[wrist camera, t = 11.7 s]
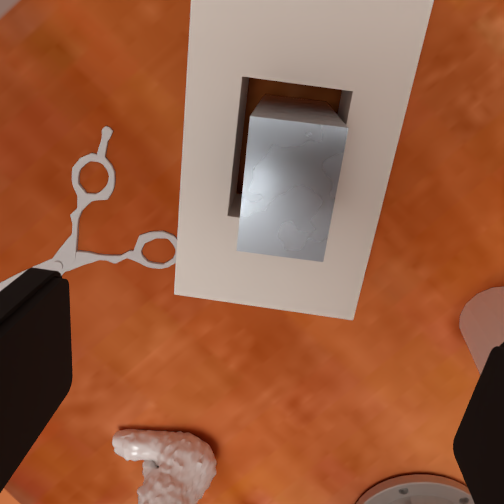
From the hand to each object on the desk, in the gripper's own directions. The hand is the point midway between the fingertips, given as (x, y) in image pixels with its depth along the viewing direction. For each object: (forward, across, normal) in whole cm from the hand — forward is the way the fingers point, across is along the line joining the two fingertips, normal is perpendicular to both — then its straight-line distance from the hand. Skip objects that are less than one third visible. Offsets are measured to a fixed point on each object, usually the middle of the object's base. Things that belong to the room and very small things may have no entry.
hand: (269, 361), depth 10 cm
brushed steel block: (+23, 0, -1) cm, 23 cm away
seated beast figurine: (+23, +6, +29) cm, 37 cm away
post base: (+22, 0, -1) cm, 23 cm away
